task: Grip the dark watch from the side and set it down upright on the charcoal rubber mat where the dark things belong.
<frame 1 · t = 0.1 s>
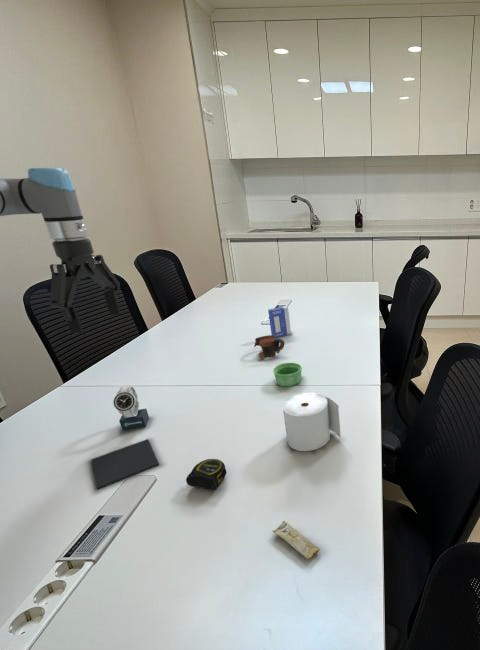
hand: (97, 322, 101), 26 cm above the table, tool pointing down, fingers open, 13 cm apart
dark mat: (125, 462, 90), on the table
tape measure: (210, 484, 83), on the table
ramekin: (289, 381, 125), on the table
walkman: (281, 335, 162), on the table
toilet tissue: (311, 438, 97), on the table
snack bar: (295, 542, 68), on the table
watch: (136, 425, 104), on the table
pottery mug: (270, 354, 145), on the table
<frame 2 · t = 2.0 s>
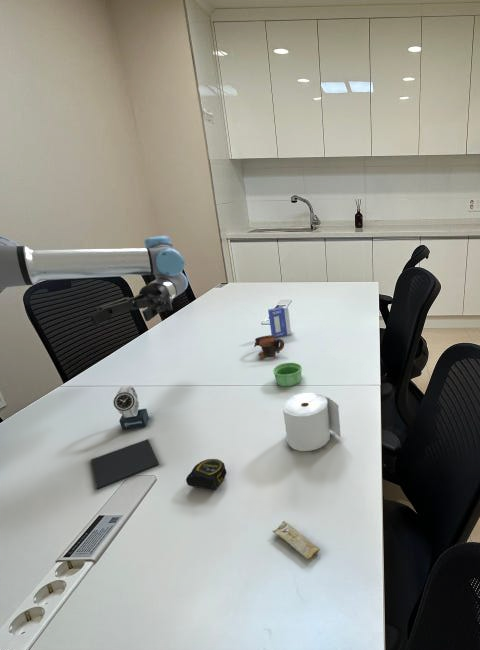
hand: (119, 318, 100), 27 cm above the table, tool horizontal, fingers open, 13 cm apart
nothing on the table moved.
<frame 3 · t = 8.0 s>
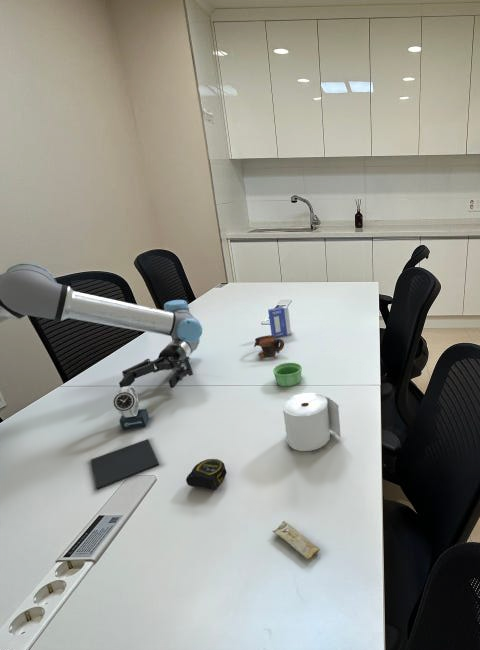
hand: (146, 385, 110), 7 cm above the table, tool horizontal, fingers open, 13 cm apart
nothing on the table moved.
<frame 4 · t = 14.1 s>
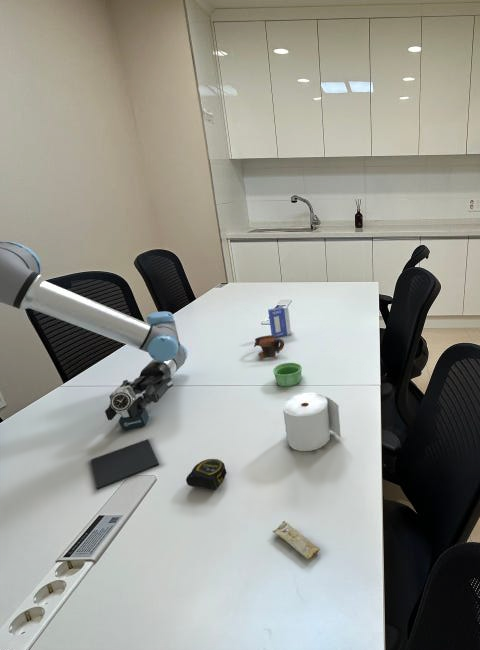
hand: (119, 414, 96), 7 cm above the table, tool horizontal, fingers closed on watch, 5 cm apart
watch: (136, 424, 104), on the table, touching gripper
everything else where it was.
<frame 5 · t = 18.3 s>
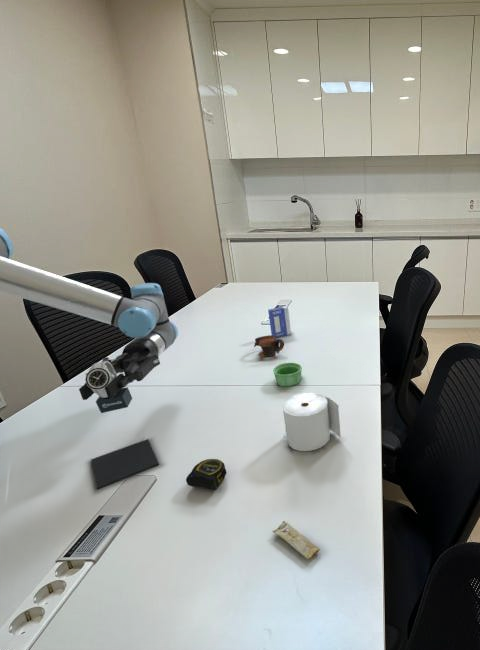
hand: (95, 393, 83), 18 cm above the table, tool horizontal, fingers closed on watch, 5 cm apart
watch: (117, 406, 91), point 11 cm above the table, touching gripper
everything else where it was.
when the fingers open (7 cm above the table, at t = 22.9 s): watch stays where it is, resting on dark mat.
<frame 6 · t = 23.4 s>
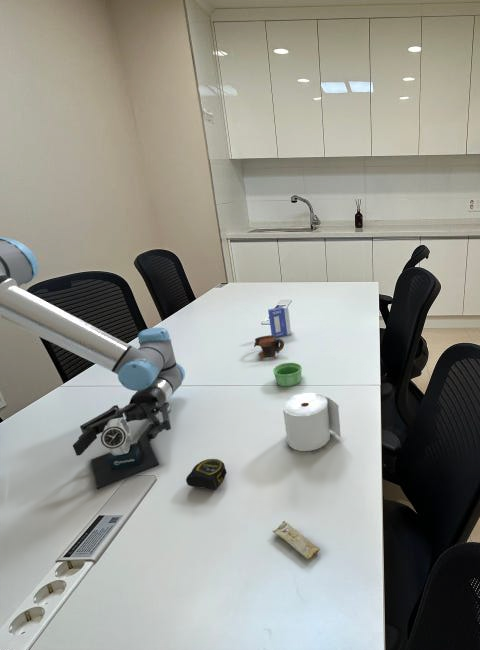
hand: (108, 448, 84), 7 cm above the table, tool horizontal, fingers open, 12 cm apart
watch: (128, 462, 89), resting on dark mat
everything else where it was.
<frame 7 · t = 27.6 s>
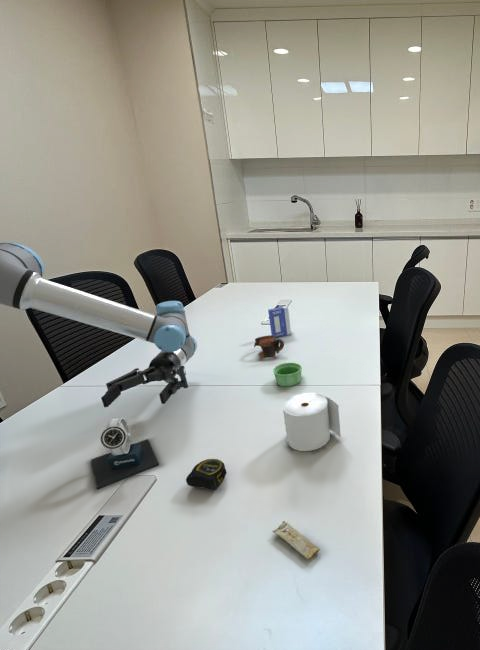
hand: (133, 400, 94), 11 cm above the table, tool horizontal, fingers open, 13 cm apart
nothing on the table moved.
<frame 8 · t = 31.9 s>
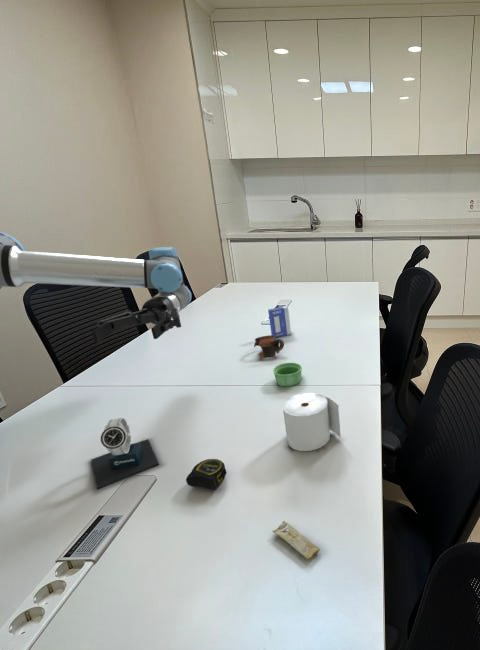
hand: (124, 335, 92), 26 cm above the table, tool horizontal, fingers open, 13 cm apart
nothing on the table moved.
at the end: watch inside the target area on the dark mat (0.9 cm from its centre), point 0.2 cm above the dark mat's base; watch tilted 0°; the gripper is holding nothing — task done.
